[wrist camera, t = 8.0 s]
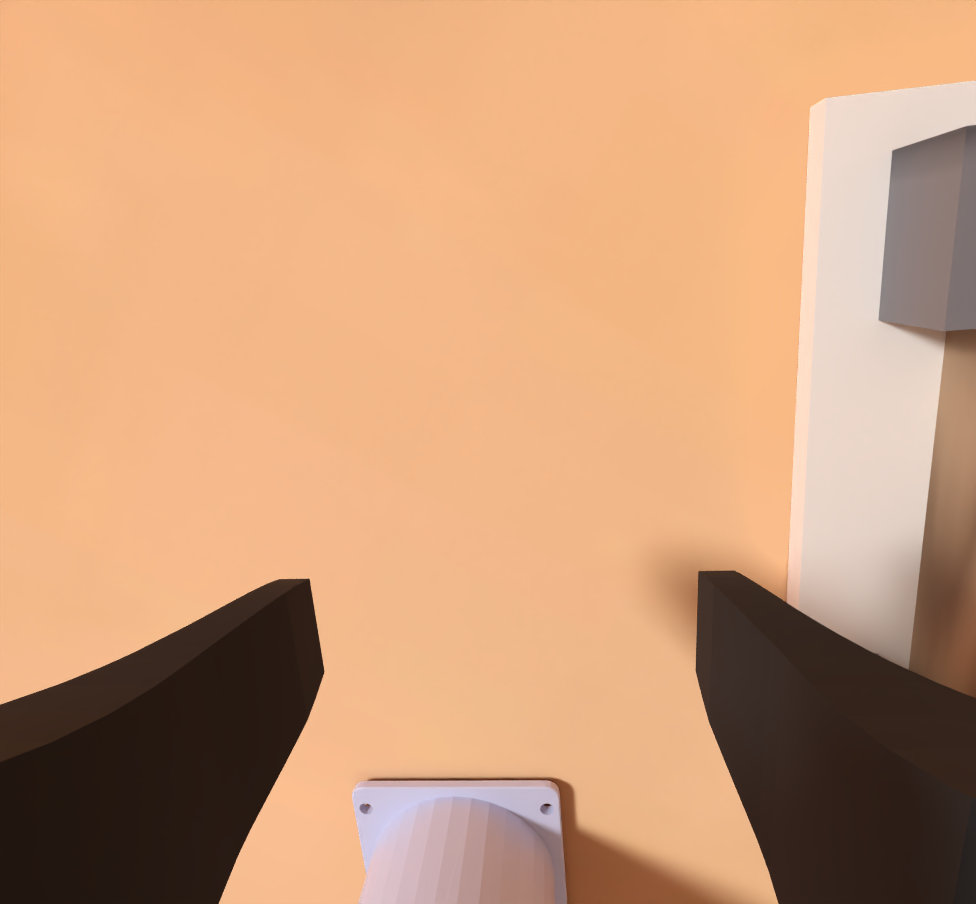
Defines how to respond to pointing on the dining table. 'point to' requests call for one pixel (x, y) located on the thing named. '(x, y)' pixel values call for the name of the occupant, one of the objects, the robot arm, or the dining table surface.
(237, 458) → the dining table surface
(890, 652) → the board
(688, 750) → the dining table surface
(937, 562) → the slat
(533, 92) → the dining table surface
